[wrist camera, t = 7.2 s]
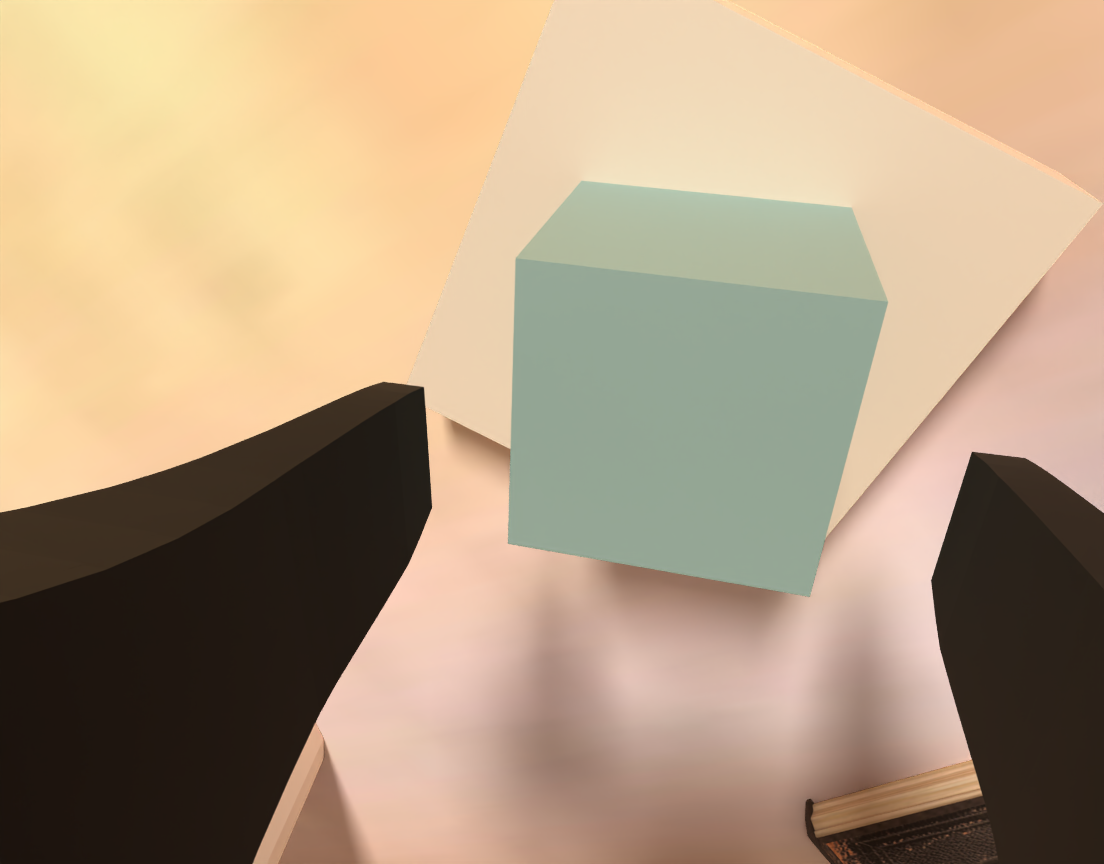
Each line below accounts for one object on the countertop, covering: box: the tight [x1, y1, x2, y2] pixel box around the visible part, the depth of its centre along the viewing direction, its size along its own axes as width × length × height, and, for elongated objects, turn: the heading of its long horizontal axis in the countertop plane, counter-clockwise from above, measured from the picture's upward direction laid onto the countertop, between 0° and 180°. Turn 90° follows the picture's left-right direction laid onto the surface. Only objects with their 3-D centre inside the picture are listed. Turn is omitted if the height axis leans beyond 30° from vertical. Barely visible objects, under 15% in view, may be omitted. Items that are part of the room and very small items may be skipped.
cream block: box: [407, 0, 1104, 537], centre depth 18 cm, size 10×10×3 cm
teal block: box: [508, 181, 888, 597], centre depth 14 cm, size 5×5×5 cm
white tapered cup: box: [253, 723, 324, 864], centre depth 28 cm, size 7×7×7 cm
